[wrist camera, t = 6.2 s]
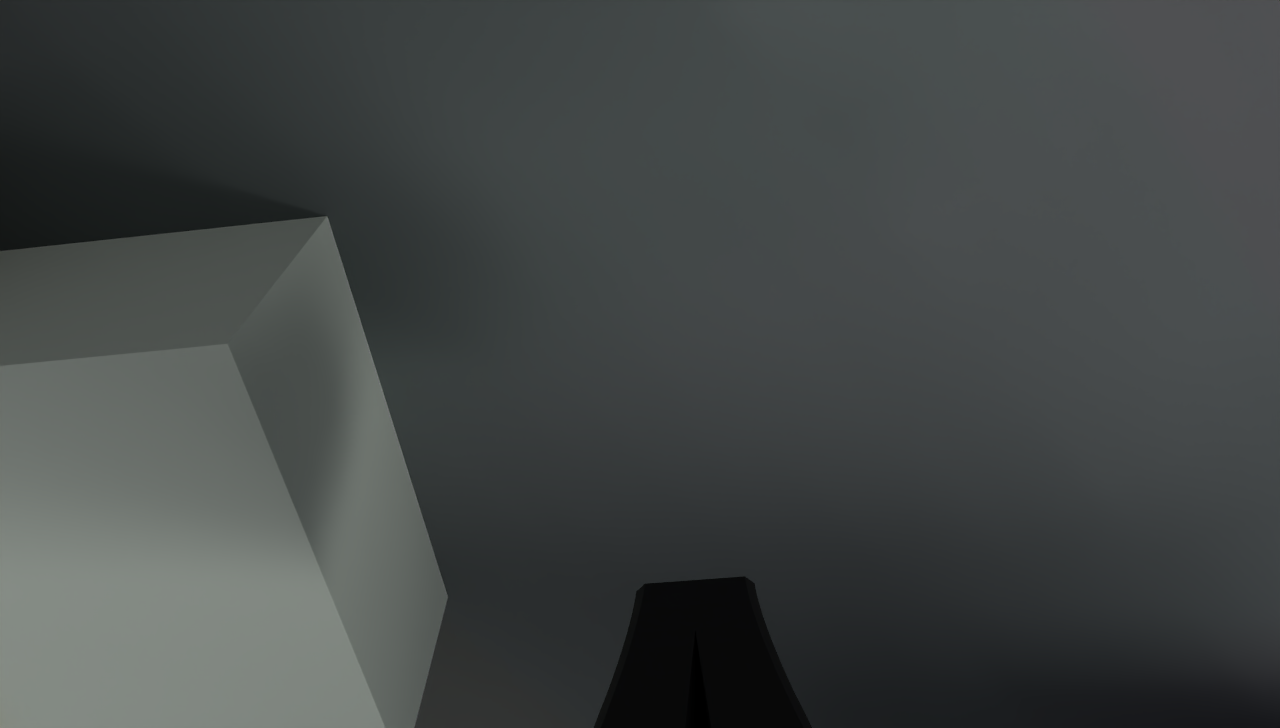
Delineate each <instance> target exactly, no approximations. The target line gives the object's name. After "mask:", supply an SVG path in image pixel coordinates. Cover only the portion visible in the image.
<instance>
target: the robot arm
mask: <svg viewBox="0 0 1280 728" xmlns="http://www.w3.org/2000/svg"><path fill="white" fill-rule="evenodd" d="M594 728H812V727H811V725H810V723H809V721H808V719H807V717H806V715H805V713H804V711H803V709H802V707H801V705H800V703H799V701H798V699H797V697H796V695H795V693H794V691H793V689H792V687H791V684H790V682H789V680H788V678H787V676H786V674H785V671H784V669H783V667H782V664H781V662H780V660H779V657H778V655H777V652H776V650H775V648H774V645H773V643H772V640H771V638H770V635H769V632H768V630H767V627H766V624H765V621H764V618H763V615H762V612H761V608H760V605H759V602H758V598H757V594H756V589H755V584H754V583H753V582H752V581H750V580H749V579H748V578H746V577H733V578H719V579H705V580H692V581H678V582H664V583H650V584H644V585H643V586H642V587H641V588H640V589H639V590H638V591H637V593H636V598H635V603H634V608H633V613H632V617H631V621H630V625H629V628H628V632H627V636H626V639H625V642H624V646H623V649H622V652H621V655H620V658H619V661H618V664H617V667H616V670H615V673H614V676H613V679H612V682H611V684H610V687H609V690H608V692H607V695H606V697H605V700H604V703H603V705H602V708H601V710H600V713H599V715H598V718H597V721H596V723H595V726H594Z"/></svg>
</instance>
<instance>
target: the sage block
mask: <svg viewBox="0 0 1280 728" xmlns="http://www.w3.org/2000/svg"><path fill="white" fill-rule="evenodd" d="M447 599H448V596H447V592H446V589H445V586H444V583H443V580H442V577H441V573H440V570H439V567H438V564H437V561H436V558H435V554H434V551H433V548H432V545H431V542H430V539H429V536H428V532H427V529H426V526H425V523H424V520H423V517H422V513H421V510H420V507H419V504H418V501H417V498H416V495H415V491H414V488H413V485H412V482H411V479H410V476H409V472H408V469H407V466H406V463H405V460H404V457H403V453H402V450H401V447H400V444H399V441H398V438H397V435H396V431H395V428H394V425H393V422H392V419H391V416H390V412H389V409H388V406H387V403H386V400H385V397H384V393H383V390H382V387H381V384H380V381H379V378H378V375H377V371H376V368H375V365H374V362H373V359H372V356H371V352H370V349H369V346H368V343H367V340H366V337H365V333H364V330H363V327H362V324H361V321H360V318H359V315H358V311H357V308H356V305H355V302H354V299H353V296H352V292H351V289H350V286H349V283H348V280H347V277H346V273H345V270H344V267H343V264H342V261H341V258H340V255H339V251H338V248H337V245H336V242H335V239H334V236H333V232H332V229H331V226H330V223H329V220H328V217H327V216H323V217H314V218H304V219H295V220H286V221H276V222H267V223H258V224H248V225H239V226H230V227H220V228H211V229H202V230H192V231H183V232H174V233H165V234H155V235H146V236H137V237H127V238H118V239H109V240H99V241H90V242H81V243H71V244H62V245H53V246H43V247H34V248H25V249H15V250H6V251H0V728H414V727H415V723H416V720H417V716H418V712H419V708H420V704H421V700H422V696H423V692H424V688H425V684H426V681H427V677H428V673H429V669H430V665H431V661H432V657H433V653H434V649H435V646H436V642H437V638H438V634H439V630H440V626H441V622H442V618H443V614H444V611H445V607H446V603H447Z"/></svg>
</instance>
